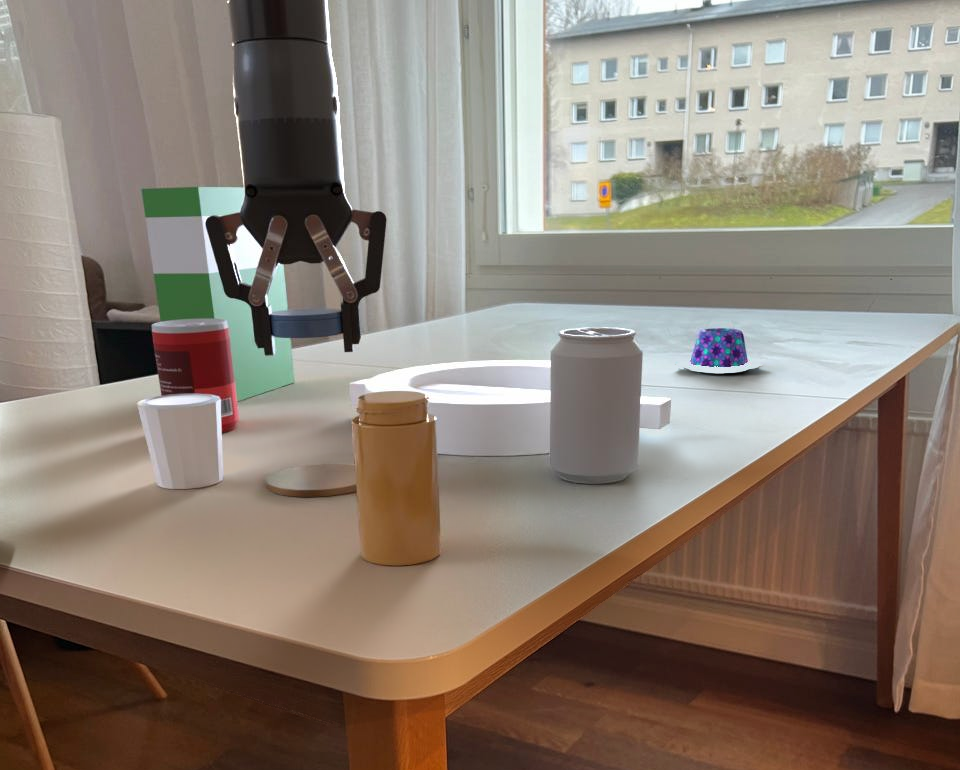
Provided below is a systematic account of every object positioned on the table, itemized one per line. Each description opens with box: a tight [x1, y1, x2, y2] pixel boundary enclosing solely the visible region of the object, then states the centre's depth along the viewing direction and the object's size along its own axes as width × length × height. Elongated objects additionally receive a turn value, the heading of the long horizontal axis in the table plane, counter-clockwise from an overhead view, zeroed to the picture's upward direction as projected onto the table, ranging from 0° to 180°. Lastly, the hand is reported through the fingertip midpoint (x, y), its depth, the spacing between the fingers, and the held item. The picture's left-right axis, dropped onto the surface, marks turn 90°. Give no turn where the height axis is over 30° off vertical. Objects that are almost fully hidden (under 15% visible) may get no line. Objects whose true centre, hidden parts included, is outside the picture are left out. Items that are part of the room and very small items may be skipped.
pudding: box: [690, 327, 749, 367], centre depth 136 cm, size 12×12×5 cm
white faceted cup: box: [136, 393, 224, 490], centre depth 85 cm, size 7×7×7 cm
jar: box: [350, 391, 442, 567], centre depth 65 cm, size 5×5×10 cm
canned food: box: [151, 319, 240, 434], centre depth 105 cm, size 8×8×11 cm
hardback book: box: [141, 186, 296, 403], centre depth 123 cm, size 18×7×24 cm, turn 162°
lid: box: [270, 307, 343, 339], centre depth 79 cm, size 6×6×2 cm
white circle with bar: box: [348, 359, 672, 457], centre depth 104 cm, size 28×28×5 cm
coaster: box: [265, 463, 356, 498], centre depth 84 cm, size 9×9×1 cm
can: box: [549, 327, 644, 485], centre depth 83 cm, size 8×8×12 cm
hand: (309, 351), depth 80 cm, fingers closed on lid, 5 cm apart
